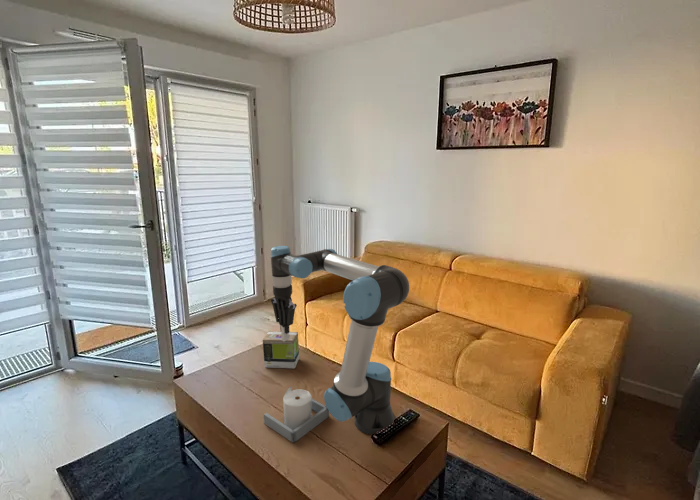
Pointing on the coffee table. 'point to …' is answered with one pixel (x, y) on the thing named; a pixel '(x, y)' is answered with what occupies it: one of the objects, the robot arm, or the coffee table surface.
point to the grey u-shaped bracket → (303, 428)
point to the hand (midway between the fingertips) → (285, 339)
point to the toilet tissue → (296, 407)
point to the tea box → (280, 350)
